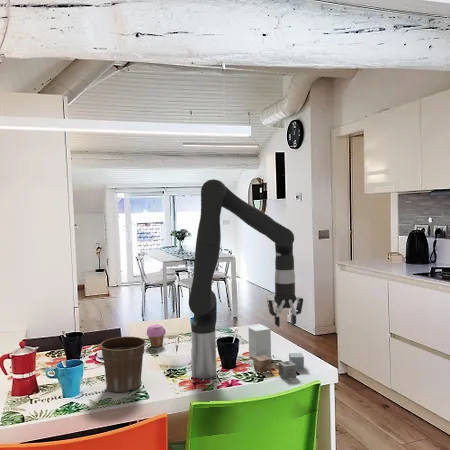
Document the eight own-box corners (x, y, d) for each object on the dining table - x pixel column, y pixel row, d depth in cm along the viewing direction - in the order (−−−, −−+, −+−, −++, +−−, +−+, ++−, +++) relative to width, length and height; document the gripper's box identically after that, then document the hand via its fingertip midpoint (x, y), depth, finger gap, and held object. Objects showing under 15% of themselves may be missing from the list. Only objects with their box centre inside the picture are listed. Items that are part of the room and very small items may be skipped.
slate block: (291, 369, 173) (291, 357, 173) (289, 365, 178) (289, 353, 178) (303, 369, 173) (303, 357, 173) (301, 365, 178) (301, 352, 178)
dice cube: (290, 373, 170) (290, 360, 170) (296, 378, 165) (296, 364, 165) (278, 374, 168) (278, 362, 168) (284, 379, 164) (283, 366, 163)
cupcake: (160, 349, 201) (159, 327, 201) (143, 347, 204) (143, 326, 204) (168, 343, 210) (168, 322, 209) (152, 342, 213) (151, 321, 212)
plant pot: (150, 377, 168) (149, 335, 168) (142, 395, 152) (141, 349, 152) (108, 378, 168) (106, 336, 168) (95, 396, 152) (94, 350, 152)
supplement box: (271, 358, 186) (271, 329, 186) (255, 361, 184) (255, 331, 183) (263, 353, 193) (263, 324, 193) (248, 355, 191) (247, 326, 190)
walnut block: (260, 373, 170) (260, 361, 170) (254, 369, 174) (253, 357, 174) (271, 371, 172) (271, 358, 172) (264, 367, 177) (264, 355, 176)
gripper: (269, 283, 160) (270, 329, 161) (306, 281, 163) (307, 327, 164) (263, 280, 167) (264, 324, 168) (299, 278, 170) (300, 321, 171)
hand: (285, 325), depth 166 cm, fingers open, 5 cm apart
